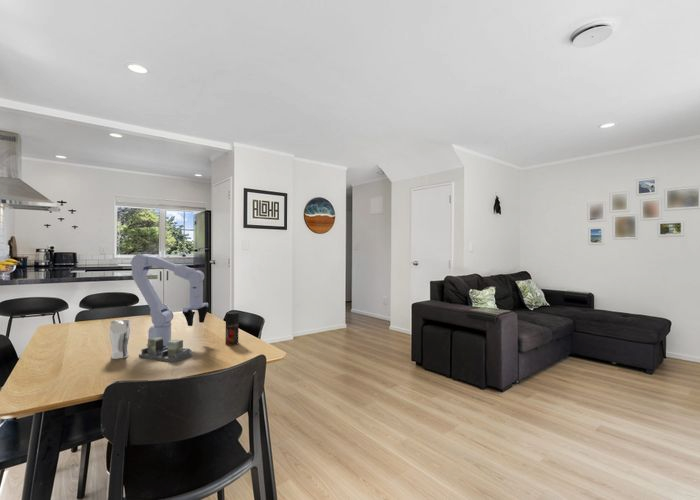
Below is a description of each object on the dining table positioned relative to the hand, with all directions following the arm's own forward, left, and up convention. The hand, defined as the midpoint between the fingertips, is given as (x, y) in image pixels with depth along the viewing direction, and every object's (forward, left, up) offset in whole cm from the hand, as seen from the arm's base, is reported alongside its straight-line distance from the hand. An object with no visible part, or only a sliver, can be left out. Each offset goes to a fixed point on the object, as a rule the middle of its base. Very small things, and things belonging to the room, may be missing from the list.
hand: (195, 324), depth 166 cm
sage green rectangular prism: (+7, -20, -8) cm, 23 cm away
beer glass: (-15, -27, -10) cm, 32 cm away
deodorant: (+16, +6, -10) cm, 20 cm away
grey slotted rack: (+2, -20, -9) cm, 22 cm away
